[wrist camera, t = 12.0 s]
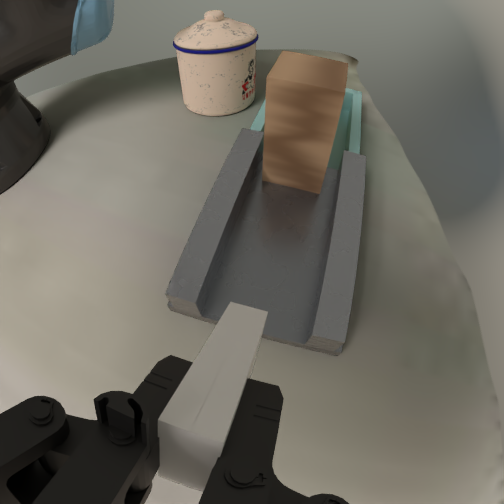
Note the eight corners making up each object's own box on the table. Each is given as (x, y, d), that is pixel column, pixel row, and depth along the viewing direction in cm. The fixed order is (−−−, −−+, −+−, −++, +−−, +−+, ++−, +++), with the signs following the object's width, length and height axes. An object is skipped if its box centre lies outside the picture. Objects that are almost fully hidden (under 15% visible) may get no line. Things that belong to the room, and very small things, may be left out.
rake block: (262, 180, 26) (266, 77, 17) (275, 144, 28) (282, 50, 20) (319, 194, 25) (345, 93, 17) (327, 155, 28) (348, 63, 19)
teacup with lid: (261, 116, 32) (264, 21, 22) (179, 122, 32) (163, 29, 22) (250, 70, 38) (251, -4, 28) (186, 75, 38) (177, 2, 28)
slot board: (170, 310, 21) (157, 291, 18) (237, 155, 29) (236, 127, 26) (337, 355, 20) (352, 344, 17) (361, 184, 27) (371, 157, 24)
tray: (247, 157, 29) (247, 133, 26) (276, 94, 35) (278, 73, 32) (351, 181, 28) (359, 158, 25) (356, 111, 33) (361, 92, 31)
